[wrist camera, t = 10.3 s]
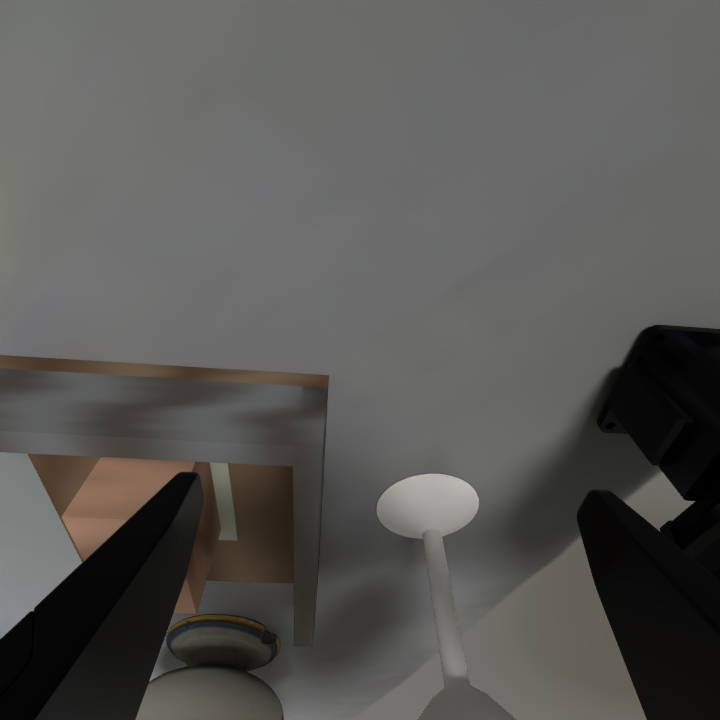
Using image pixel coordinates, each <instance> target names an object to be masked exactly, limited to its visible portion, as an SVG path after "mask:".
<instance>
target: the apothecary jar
mask: <svg viewBox="0 0 720 720" xmlns="http://www.w3.org/2000/svg"><path fill="white" fill-rule="evenodd" d="M166 641H167V645H168V648H169V649H170V651H171V652H172V653H173V654H174V655H175V656H176V657H177V658H178V659H180V660H181V661H183V662H184V663H186V664H187V665H188V666H189V667H184V668H180V669H176V670H173V671H170V672H167V673H165V674H162V675H160V676H158V677H157V678H155V679H153V680H152V681H150V682H149V683H148V686H147V689H146V692H145V694H144V697H143V700H142V703H141V706H140V708H139V711H138V714H137V717H136V720H284V717H283V709H282V706H281V703H280V701H279V699H278V697H277V695H276V694H275V692H274V691H273V690H272V689H271V688H270V686H268V685H267V684H266V683H265V682H264V681H262V680H261V679H260V678H258V677H256V676H254V675H253V674H250V673H248V672H247V671H250V670H253V669H256V668H260V667H262V666H264V665H266V664H268V663H269V662H271V661H272V660H273V659H274V658H275V657H276V656H277V654H278V652H279V649H280V642H279V639H278V637H277V636H276V635H273V634H271V633H268V632H266V631H265V626H264V625H262V624H260V623H257V622H255V621H252V620H249V619H246V618H242V617H236V616H230V615H200V616H194V617H190V618H187V619H184V620H182V621H180V622H178V623H176V624H175V625H174V626H173V627H172V628H171V629H170V630H169V632H168V634H167V638H166Z"/></svg>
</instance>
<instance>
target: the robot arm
mask: <svg viewBox="0 0 720 720" xmlns="http://www.w3.org/2000/svg"><path fill="white" fill-rule="evenodd" d="M658 334H659V335H658ZM656 335H658V337H656V338H654V337H655V336H656ZM597 424H598V426H599V428H600V429H601V430H602V431H603V432H606V433H623V434H629V436H630V437H631V438H632V440H633V441H634V442H635V443H636V445H637V446H638V447H639V449H640V450H641V451H642V453H643V454H644V455H645V457H646V458H647V459H648V461H649V462H650V463H651V464H652V465H658V466H659V468H660V469H661V470H662V472H663V473H664V474H665V475H666V477H667V478H668V479H669V481H670V482H671V483H672V484H673V486H674V487H675V488H676V490H677V491H678V492H679V493H680V495H681V496H682V497H683V499H684V500H687V501H695V502H694V503H693V504H692V505H691V506H689V507H688V508H687V509H686V510H685V511H683V512H682V513H681V514H680V515H679V516H677V517H676V518H675V519H674V520H673V521H668V522H667V523H665V524H664V525H663V526H662V527H661V528H660V531H661V532H660V531H658V530H657V529H656V528H655V527H654V526H652V525H651V524H650V523H649V522H647V521H646V520H645V519H644V518H643V517H641V516H640V515H639V514H638V513H636V512H635V511H634V510H633V509H632V508H630V507H629V506H628V505H627V504H626V503H624V502H623V501H622V500H621V499H619V498H618V497H617V496H616V495H615V494H613V493H612V492H610V491H608V490H591V491H589V492H588V493H587V495H586V497H585V499H584V500H583V502H582V504H581V506H580V507H579V509H578V511H577V522H578V526H579V529H580V533H581V537H582V540H583V544H584V547H585V551H586V555H587V558H588V562H589V566H590V569H591V573H592V576H593V579H594V583H595V586H596V589H597V591H598V594H599V597H600V599H601V602H602V605H603V607H604V610H605V613H606V615H607V618H608V620H609V623H610V625H611V628H612V631H613V633H614V636H615V638H616V641H617V644H618V646H619V649H620V651H621V654H622V656H623V659H624V662H625V664H626V667H627V669H628V672H629V675H630V677H631V680H632V682H633V685H634V687H635V690H636V693H637V695H638V698H639V700H640V703H641V705H642V708H643V711H644V713H645V716H646V718H647V720H720V329H710V328H696V327H682V326H668V325H654V326H652V327H650V328H649V329H647V330H646V331H645V333H644V334H643V336H642V338H641V340H640V342H639V344H638V346H637V347H636V349H635V351H634V353H633V355H632V357H631V359H630V361H629V362H628V364H627V366H626V368H625V370H624V372H623V374H622V376H621V377H620V379H619V381H618V383H617V385H616V387H615V389H614V391H613V392H612V394H611V396H610V398H609V400H608V402H607V404H606V406H605V408H604V409H603V411H602V413H601V415H600V417H599V419H598V421H597ZM203 504H204V494H203V489H202V484H201V479H200V475H199V474H198V473H197V472H179V473H178V474H176V475H175V476H174V477H173V478H172V479H171V480H170V481H169V482H168V483H167V484H166V485H165V486H163V487H162V488H161V489H160V490H159V491H158V492H157V493H156V494H155V495H154V496H153V497H152V498H151V499H150V500H149V501H148V502H146V503H145V504H144V505H143V506H142V507H141V508H140V509H139V510H138V511H137V512H136V513H135V514H134V515H133V516H132V517H130V518H129V519H128V520H127V521H126V522H125V523H124V524H123V525H122V526H121V527H120V528H119V529H118V530H117V531H116V532H115V533H113V534H112V535H111V536H110V537H109V538H108V539H107V540H106V541H105V542H104V543H103V544H102V545H101V546H100V547H99V548H98V549H96V550H95V551H94V552H93V553H92V554H91V555H90V556H89V557H88V558H87V559H86V560H85V561H84V562H83V563H82V564H80V565H79V566H78V567H77V568H76V569H75V570H74V571H73V572H72V573H71V574H70V575H69V576H68V577H67V578H66V579H65V580H63V581H62V582H61V583H60V584H59V585H58V586H57V587H56V588H55V589H54V590H53V591H52V592H51V593H50V594H49V595H48V596H46V597H45V598H44V599H43V600H42V601H41V602H40V603H39V604H38V605H37V606H36V607H35V608H34V611H31V612H29V613H28V614H27V615H26V616H25V617H24V618H23V619H22V620H21V621H20V622H19V623H18V624H16V625H15V626H14V627H13V628H12V629H11V630H10V631H9V632H8V633H7V634H6V635H5V636H3V637H2V638H1V639H0V720H136V717H137V714H138V711H139V708H140V706H141V703H142V700H143V697H144V694H145V692H146V689H147V686H148V683H149V680H150V677H151V675H152V672H153V669H154V666H155V663H156V661H157V658H158V655H159V652H160V649H161V646H162V644H163V641H164V638H165V635H166V632H167V629H168V627H169V624H170V621H171V618H172V615H173V613H174V610H175V607H176V604H177V601H178V598H179V596H180V593H181V590H182V587H183V584H184V581H185V578H186V575H187V572H188V568H189V564H190V560H191V556H192V551H193V547H194V543H195V539H196V535H197V530H198V526H199V522H200V518H201V513H202V509H203Z"/></svg>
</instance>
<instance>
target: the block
mask: <svg viewBox="0 0 720 720" xmlns="http://www.w3.org/2000/svg"><path fill="white" fill-rule="evenodd" d="M179 472H197V473H198V474H199V475H200V479H201V484H202V489H203V494H204V504H203V509H202V513H201V518H200V522H199V526H198V530H197V535H196V539H195V543H194V547H193V551H192V556H191V560H190V564H189V568H188V572H187V575H186V578H185V581H184V584H183V587H182V590H181V593H180V596H179V598H178V601H177V604H176V607H175V610H174V613H178V614H197V610H198V607H199V604H200V600H201V597H202V593H203V590H204V587H205V583H206V580H207V576H208V573H209V569H210V566H211V563H212V559H213V556H214V552H215V549H216V546H217V542H218V539H219V535H220V532H221V526H220V520H219V514H218V508H217V502H216V496H215V490H214V485H213V479H212V473H211V467H210V462H192V461H172V460H151V459H131V458H111V457H101V458H100V459H99V461H98V462H97V464H96V465H95V467H94V468H93V470H92V471H91V473H90V474H89V476H88V478H87V479H86V481H85V482H84V484H83V485H82V487H81V488H80V490H79V491H78V493H77V494H76V496H75V497H74V499H73V500H72V502H71V503H70V505H69V506H68V508H67V509H66V511H65V512H64V514H63V515H62V519H63V521H64V523H65V525H66V527H67V529H68V531H69V533H70V535H71V537H72V539H73V541H74V543H75V545H76V547H77V549H78V551H79V553H80V555H81V557H82V559H83V561H85V560H86V559H87V558H88V557H89V556H90V555H91V554H92V553H93V552H94V551H95V550H96V549H98V548H99V547H100V546H101V545H102V544H103V543H104V542H105V541H106V540H107V539H108V538H109V537H110V536H111V535H112V534H113V533H115V532H116V531H117V530H118V529H119V528H120V527H121V526H122V525H123V524H124V523H125V522H126V521H127V520H128V519H129V518H130V517H132V516H133V515H134V514H135V513H136V512H137V511H138V510H139V509H140V508H141V507H142V506H143V505H144V504H145V503H146V502H148V501H149V500H150V499H151V498H152V497H153V496H154V495H155V494H156V493H157V492H158V491H159V490H160V489H161V488H162V487H163V486H165V485H166V484H167V483H168V482H169V481H170V480H171V479H172V478H173V477H174V476H175V475H176V474H178V473H179Z"/></svg>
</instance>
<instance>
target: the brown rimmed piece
mask: <svg viewBox="0 0 720 720" xmlns="http://www.w3.org/2000/svg"><path fill="white" fill-rule="evenodd" d="M328 380H329V376H327V375H311V374H295V373H278V372H262V371H246V370H230V369H213V368H197V367H181V366H165V365H148V364H132V363H116V362H99V361H83V360H67V359H51V358H34V357H18V356H2V355H0V452H9V453H28V455H29V457H30V459H31V461H32V463H33V465H34V467H35V469H36V471H37V473H38V475H39V477H40V479H41V481H42V483H43V485H44V487H45V489H46V491H47V493H48V495H49V497H50V499H51V501H52V503H53V505H54V507H55V509H56V511H57V513H58V515H59V517H60V519H61V521H62V523H63V525H64V527H65V529H66V531H67V533H68V535H69V537H70V539H71V541H72V543H73V545H74V547H75V549H76V550H77V552H78V554H79V556H80V558H81V560H82V562H84V561H83V559H82V557H81V555H80V553H79V551H78V549H77V547H76V545H75V543H74V541H73V539H72V537H71V535H70V533H69V531H68V529H67V527H66V525H65V523H64V521H63V519H62V515H63V514H64V512H65V511H66V509H67V508H68V506H69V505H70V503H71V502H72V500H73V499H74V497H75V496H76V494H77V493H78V491H79V490H80V488H81V487H82V485H83V484H84V482H85V481H86V479H87V478H88V476H89V474H90V473H91V471H92V470H93V468H94V467H95V465H96V464H97V462H98V461H99V459H100V458H101V457H111V458H131V459H151V460H172V461H192V462H210V467H211V473H212V479H213V485H214V490H215V496H216V502H217V508H218V514H219V520H220V526H221V532H220V535H219V539H218V542H217V546H216V549H215V552H214V556H213V559H212V563H211V566H210V569H209V573H208V576H207V580H215V581H244V582H274V583H294V645H299V646H313V638H314V624H315V610H316V597H317V583H318V569H319V550H320V531H321V512H322V493H323V474H324V456H325V437H326V418H327V399H328Z"/></svg>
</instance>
